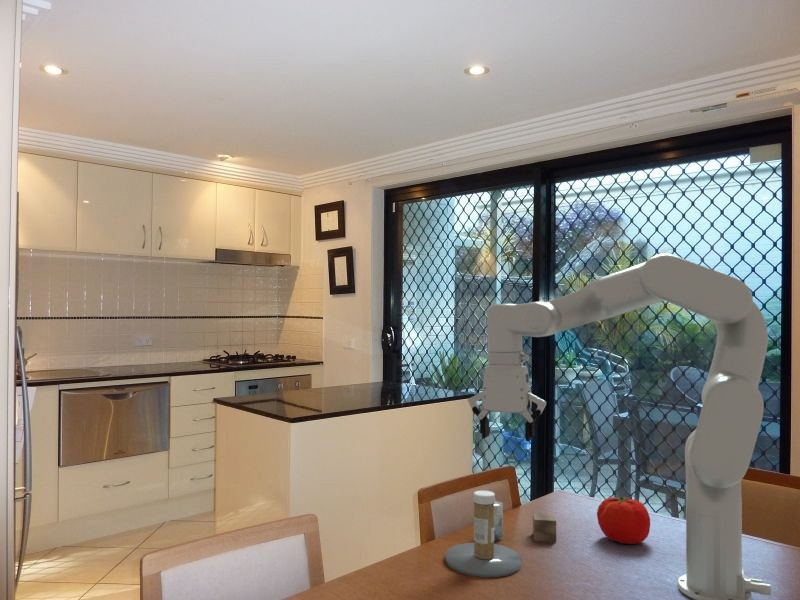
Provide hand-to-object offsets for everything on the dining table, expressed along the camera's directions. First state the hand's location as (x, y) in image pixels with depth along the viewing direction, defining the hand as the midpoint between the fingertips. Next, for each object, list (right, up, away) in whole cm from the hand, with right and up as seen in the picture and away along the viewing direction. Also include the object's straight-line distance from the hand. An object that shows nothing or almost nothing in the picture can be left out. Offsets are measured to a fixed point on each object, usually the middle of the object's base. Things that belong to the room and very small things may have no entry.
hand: (506, 438), depth 133 cm
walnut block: (+11, -27, +13) cm, 32 cm away
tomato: (+29, -27, +11) cm, 41 cm away
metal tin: (-1, -26, +12) cm, 29 cm away
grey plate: (-6, -26, -2) cm, 26 cm away
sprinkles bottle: (-5, -25, -2) cm, 25 cm away
